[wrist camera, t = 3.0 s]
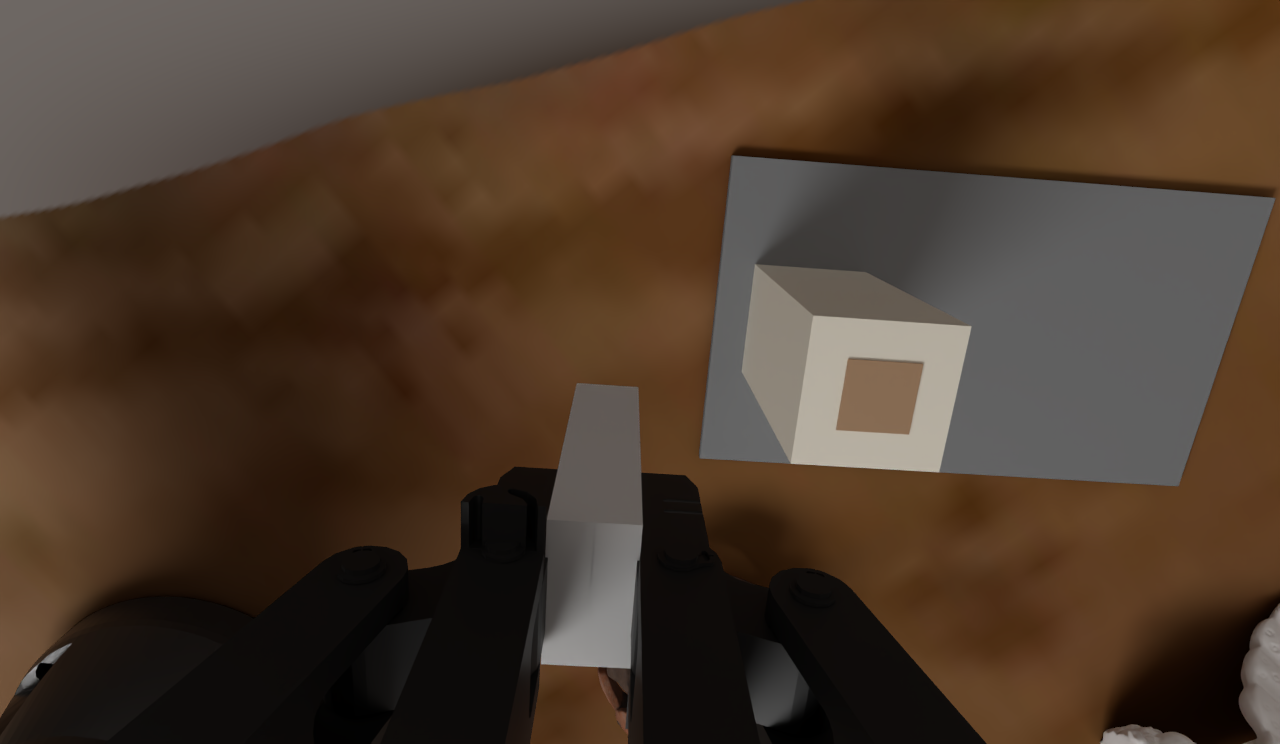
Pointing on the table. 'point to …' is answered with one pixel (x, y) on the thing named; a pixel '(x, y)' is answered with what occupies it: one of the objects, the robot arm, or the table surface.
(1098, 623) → the table surface
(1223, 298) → the grey mat
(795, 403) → the cream block
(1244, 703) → the cherub figurine
